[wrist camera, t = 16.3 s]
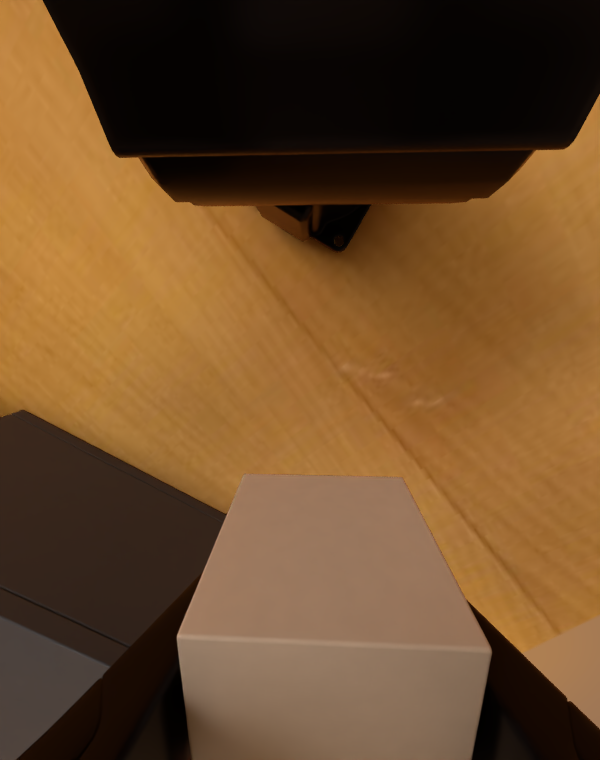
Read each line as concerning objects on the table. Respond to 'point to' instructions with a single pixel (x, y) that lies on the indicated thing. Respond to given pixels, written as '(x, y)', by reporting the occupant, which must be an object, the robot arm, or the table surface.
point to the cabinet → (81, 568)
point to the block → (330, 630)
